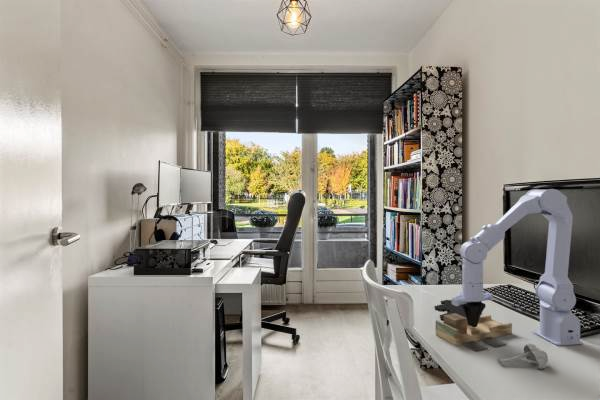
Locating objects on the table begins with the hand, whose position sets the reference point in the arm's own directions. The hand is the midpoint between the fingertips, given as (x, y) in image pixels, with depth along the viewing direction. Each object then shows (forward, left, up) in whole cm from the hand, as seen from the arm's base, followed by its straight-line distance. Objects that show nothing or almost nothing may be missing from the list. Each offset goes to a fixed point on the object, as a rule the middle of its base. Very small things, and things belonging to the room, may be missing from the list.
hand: (472, 325), depth 106 cm
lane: (-2, -1, -3) cm, 4 cm away
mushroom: (-19, -2, -3) cm, 19 cm away
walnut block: (-2, +7, -1) cm, 7 cm away
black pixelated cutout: (+16, -5, -3) cm, 17 cm away
